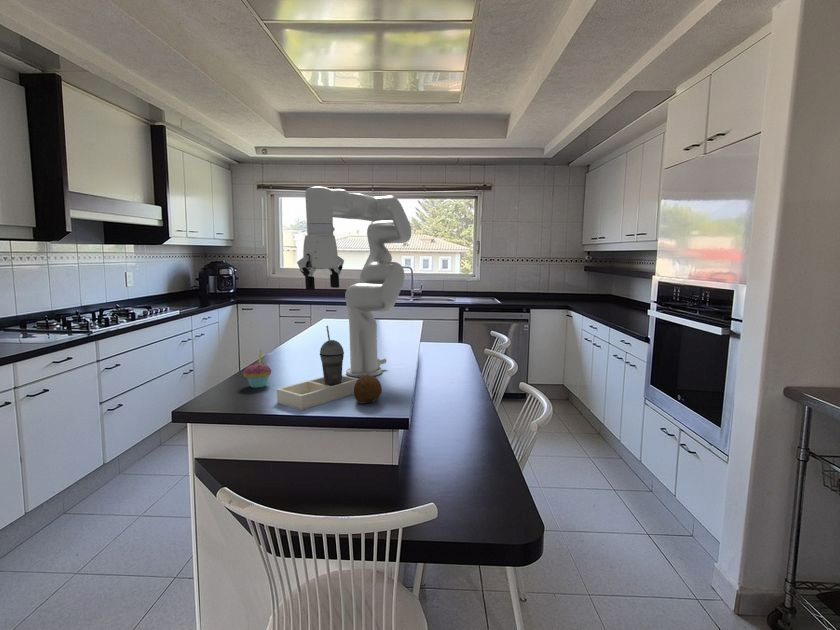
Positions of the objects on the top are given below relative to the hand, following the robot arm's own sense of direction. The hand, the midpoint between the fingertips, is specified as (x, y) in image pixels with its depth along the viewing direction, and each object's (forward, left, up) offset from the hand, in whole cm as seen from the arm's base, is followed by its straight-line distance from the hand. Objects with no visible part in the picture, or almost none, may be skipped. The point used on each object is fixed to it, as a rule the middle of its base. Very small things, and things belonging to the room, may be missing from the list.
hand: (322, 288), depth 141 cm
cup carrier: (+5, +3, -32) cm, 32 cm away
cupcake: (+9, -23, -32) cm, 40 cm away
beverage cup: (0, +3, -31) cm, 31 cm away
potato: (0, +18, -32) cm, 36 cm away
